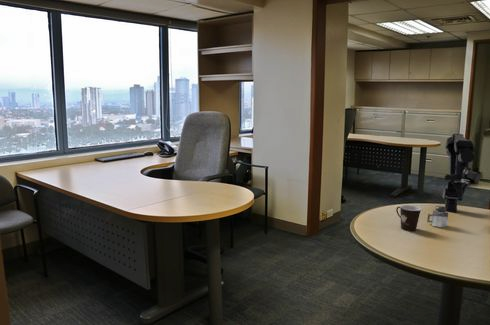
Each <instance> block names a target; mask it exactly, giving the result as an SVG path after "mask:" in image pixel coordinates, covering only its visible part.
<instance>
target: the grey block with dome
mask: <svg viewBox="0 0 490 325" xmlns="http://www.w3.org/2000/svg"><path fill="white" fill-rule="evenodd" d="M448 218H449V213H448V211H446V212H442V213H441V214H439V211H436V210H432V213H431V214H430V213H427V220H426V221H427V223H430V225H431V226H432V227H434V228H438V229H447V228H448V221H449V219H448ZM430 219H431V220H430Z"/></svg>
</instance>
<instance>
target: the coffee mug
mask: <svg viewBox="0 0 490 325" xmlns="http://www.w3.org/2000/svg"><path fill="white" fill-rule="evenodd" d="M399 209H400V214H399V212H398V211H399ZM421 210H422V208H421V207H419V206H415V205H410V204H403V205H400V206H397V207H396V210H395V211H396V213H397V215H398V217H399V218H400V230H403V231H406V232H416V231H417V227H418V223H419V219H420V215H421Z"/></svg>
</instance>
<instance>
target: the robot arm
mask: <svg viewBox="0 0 490 325" xmlns="http://www.w3.org/2000/svg"><path fill="white" fill-rule="evenodd" d="M444 148H445V150H446V151H445V152H446V154H447V156H448V157H449V163H448V164H449V168H448V170H449V172H448V174H446V173H445V175H444V178H443V179H444V181H447V182H448V183H447V184H446V186H445V187H444V188H443V192H442V198H443V200H445V203H444V207H446V212H451V213H458V201H459V202H461V201H463V198H464V194H465V192H466V190H467V188H468V187H469V186H471V185H473V186H479V182H480V180H481V179H483V172H482V171H479V170H477V171H476V172H475V171H472V168H471V167H470V163H472V162H473V161H474V160H475V154H474V153H475V152H476V147H475V144H474V142H473V141H472V140H471V139H466V138H465V137H464V134H463V133H452V135H451V136H450V137H448V138H447V139H446V141H445V147H444Z"/></svg>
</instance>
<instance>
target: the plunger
mask: <svg viewBox="0 0 490 325" xmlns="http://www.w3.org/2000/svg"><path fill="white" fill-rule="evenodd" d="M435 211H439V214H441V213H442V212H447V211H446V207H445V206H442V205H437V206H435Z"/></svg>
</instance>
